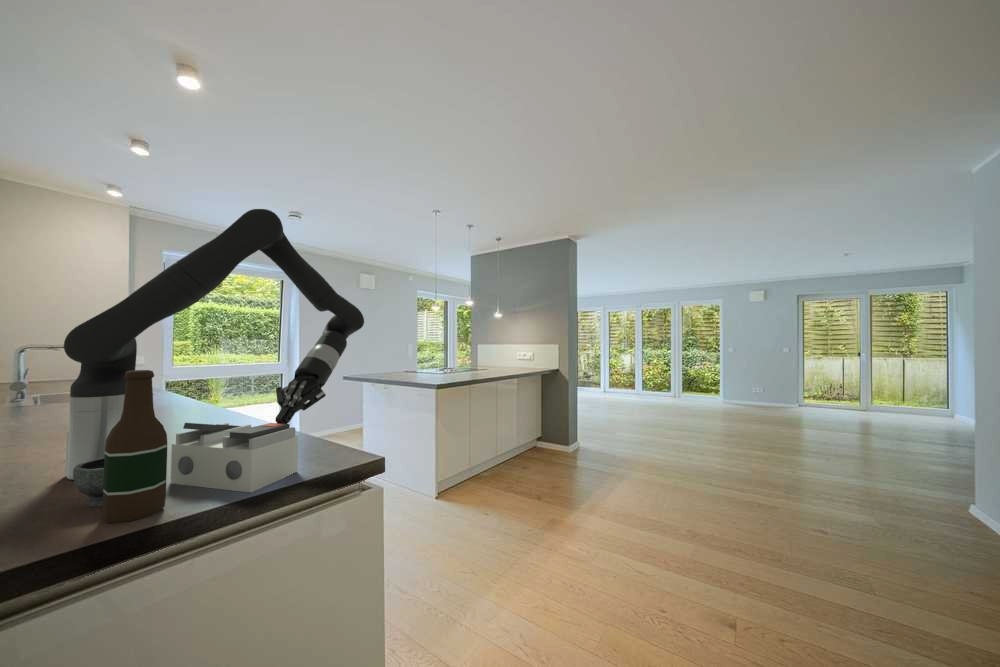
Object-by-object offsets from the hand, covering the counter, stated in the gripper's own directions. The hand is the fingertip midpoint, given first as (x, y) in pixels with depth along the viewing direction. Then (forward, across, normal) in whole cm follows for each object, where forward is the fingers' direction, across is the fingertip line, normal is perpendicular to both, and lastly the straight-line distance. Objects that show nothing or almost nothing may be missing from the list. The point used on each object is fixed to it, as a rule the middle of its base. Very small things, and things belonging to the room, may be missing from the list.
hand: (280, 423), depth 85 cm
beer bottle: (+24, -7, -9) cm, 26 cm away
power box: (+11, -6, +4) cm, 13 cm away
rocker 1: (+4, -12, -3) cm, 13 cm away
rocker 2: (+4, 0, -3) cm, 5 cm away
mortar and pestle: (+21, -18, -6) cm, 28 cm away
